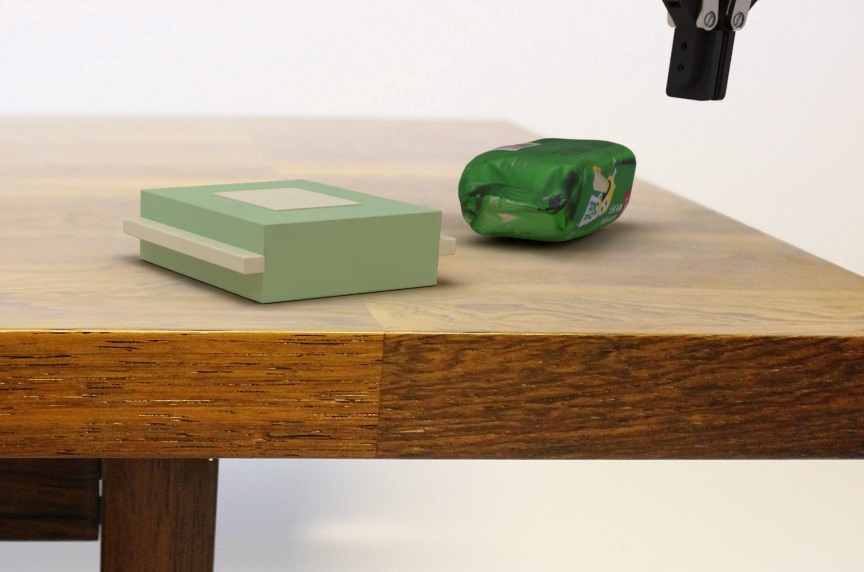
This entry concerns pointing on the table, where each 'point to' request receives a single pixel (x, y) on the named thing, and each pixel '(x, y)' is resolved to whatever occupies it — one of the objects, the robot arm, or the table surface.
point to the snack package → (547, 188)
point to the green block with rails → (289, 239)
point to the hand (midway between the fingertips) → (694, 97)
